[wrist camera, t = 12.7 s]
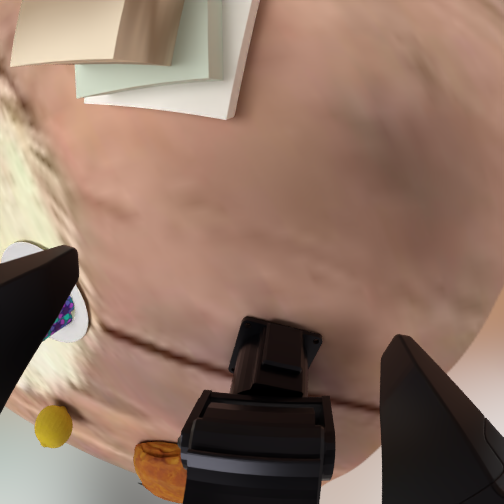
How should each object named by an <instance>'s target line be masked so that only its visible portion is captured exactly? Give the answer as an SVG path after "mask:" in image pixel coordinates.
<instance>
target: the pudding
mask: <svg viewBox="0 0 504 504" xmlns="http://www.w3.org/2000/svg"><path fill="white" fill-rule="evenodd" d="M40 251H44V250H43V249H41V248H39V247H37V246H36V245H33V244H30V243H26V242H15V243H13V244H11V245H9V246H8V247H7V248H6V249H5V251H4V253H3V256H2V260H1V263H4V262H7V261H10V260H13V259H17V258H20V257H23V256H27V255H30V254H33V253H37V252H40ZM71 296H72V298H73V301H72V298H71V297H70V296H69V297H68V299H67V301H66V303H65V304H64V306H63V308H62V310H61V312H60V314H59V316H58V317H57V319H56V321H55V323H54V324H53V326H52V327H51V329H50V330H49V332H48V333H47V335H46V337H45V338H44V340H45V339H47V338H48V337H49V338H52V339H54V340H57V341H60V342H75V341H78V340H80V339H81V338H82V337H83V336H84V335H85V333H86V331H87V328H88V314H87V309H86V306H85V302H84V300H83V298H82V295H81V293H80V291H79V289H78V288H77V286H76V285H75V286H74V288H73V290H72V292H71ZM73 302H74V303H73ZM74 306H75V316H74V319H73V321H72V315H71V311H72V310H74ZM71 321H72V323H70V322H71ZM69 323H70V324H69ZM67 324H69V325H67ZM66 325H67V326H66ZM44 340H43V341H44ZM43 341H42V342H43Z"/></svg>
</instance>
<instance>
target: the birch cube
mask: <svg viewBox="0 0 504 504" xmlns="http://www.w3.org/2000/svg"><path fill="white" fill-rule="evenodd" d="M184 2H185V0H22V3H21V7H20V11H19V16H18V21H17V26H16V31H15V36H14V42H13V49H12V56H11V63H10V67H16V66H31V65H85V64H136V65H157V66H171V63H172V58H173V52H174V47H175V42H176V37H177V32H178V28H179V23H180V19H181V14H182V10H183V6H184Z"/></svg>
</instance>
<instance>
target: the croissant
mask: <svg viewBox="0 0 504 504" xmlns="http://www.w3.org/2000/svg"><path fill="white" fill-rule="evenodd" d="M133 460H134V466H135V470H136V473H137V475H138V476H139V478H140V480H141V481H142V484H143V486H145V488H146V489H148V490H149V491H150V492H151V493H153V494H154V495H155V496H158V497H160V498H162V499H164V500H168V501H172V502H176V503H183V498H184V492H185V485H186V477H187V470H185V469H184V468H183V466H182V462H181V449H180V448H179V447H178V445H177V444H173V443H166V442H156V441H154V442H147V443H141V444H138V445H136V447H135V453H134V457H133Z"/></svg>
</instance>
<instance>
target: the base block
mask: <svg viewBox="0 0 504 504" xmlns="http://www.w3.org/2000/svg"><path fill="white" fill-rule="evenodd" d="M259 2H260V0H222V36H223V80H221V81H206V82H193V83H183V84H173V85H165V86H157V87H150V88H143V89H136V90H130V91H124V92H119V93H113V94H108V95H100V96H92V97H85V99H84V103H86V104H103V105H117V106H128V107H139V108H148V109H157V110H165V111H172V112H180V113H187V114H193V115H200V116H206V117H212V118H218V119H223V120H227V119H230V118H232V117H234V116H235V111H236V106H237V101H238V97H239V92H240V87H241V82H242V77H243V73H244V68H245V63H246V59H247V54H248V50H249V45H250V41H251V36H252V32H253V28H254V23H255V19H256V15H257V11H258V7H259Z"/></svg>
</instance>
